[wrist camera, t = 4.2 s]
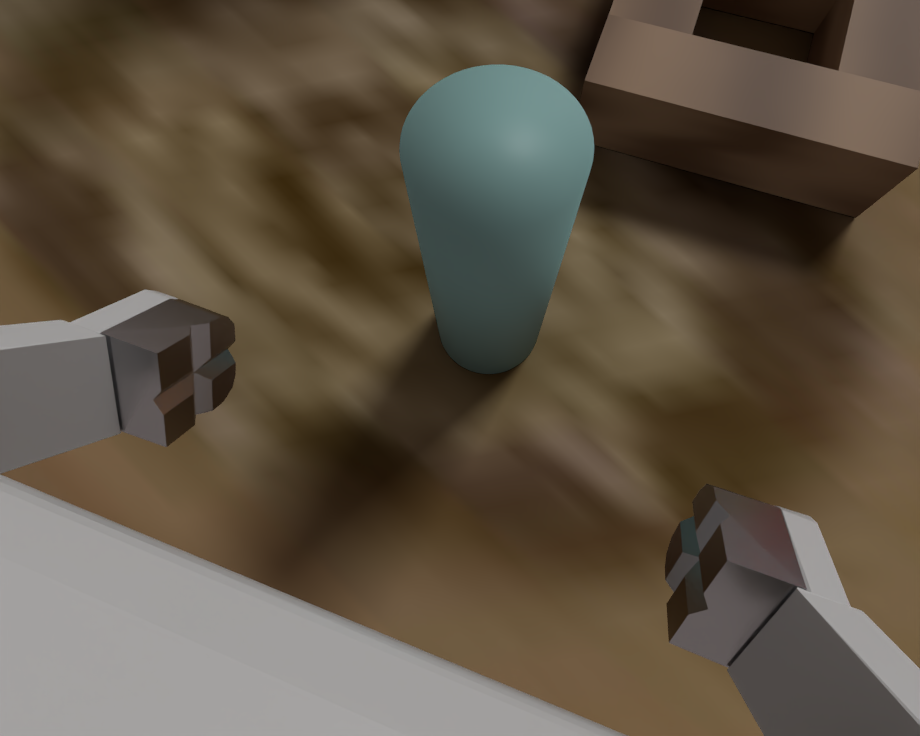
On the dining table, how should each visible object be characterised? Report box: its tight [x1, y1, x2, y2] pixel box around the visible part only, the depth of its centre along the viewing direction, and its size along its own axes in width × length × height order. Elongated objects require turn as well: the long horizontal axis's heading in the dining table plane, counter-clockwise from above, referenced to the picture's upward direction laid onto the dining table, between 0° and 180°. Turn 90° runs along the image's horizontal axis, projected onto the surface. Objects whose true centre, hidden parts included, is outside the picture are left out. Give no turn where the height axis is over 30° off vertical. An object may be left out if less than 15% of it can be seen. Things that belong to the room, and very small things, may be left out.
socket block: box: [579, 0, 920, 218], centre depth 21 cm, size 11×11×3 cm
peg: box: [400, 65, 594, 374], centre depth 15 cm, size 4×4×10 cm
